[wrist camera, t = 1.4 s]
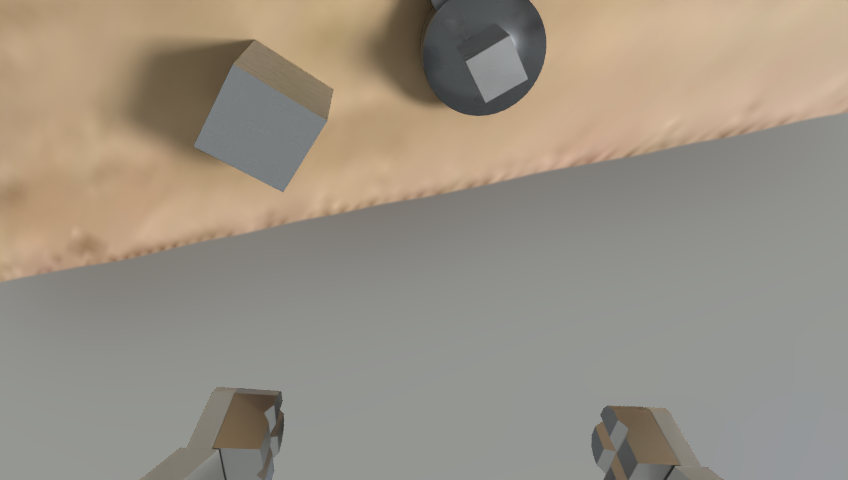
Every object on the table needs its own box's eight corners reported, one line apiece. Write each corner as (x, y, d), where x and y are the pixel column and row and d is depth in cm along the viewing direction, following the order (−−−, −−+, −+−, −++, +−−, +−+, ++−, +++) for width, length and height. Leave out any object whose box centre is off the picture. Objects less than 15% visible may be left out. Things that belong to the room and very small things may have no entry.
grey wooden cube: (219, 111, 33) (193, 146, 28) (254, 39, 30) (232, 63, 25) (295, 153, 35) (283, 192, 30) (333, 89, 32) (327, 120, 28)
